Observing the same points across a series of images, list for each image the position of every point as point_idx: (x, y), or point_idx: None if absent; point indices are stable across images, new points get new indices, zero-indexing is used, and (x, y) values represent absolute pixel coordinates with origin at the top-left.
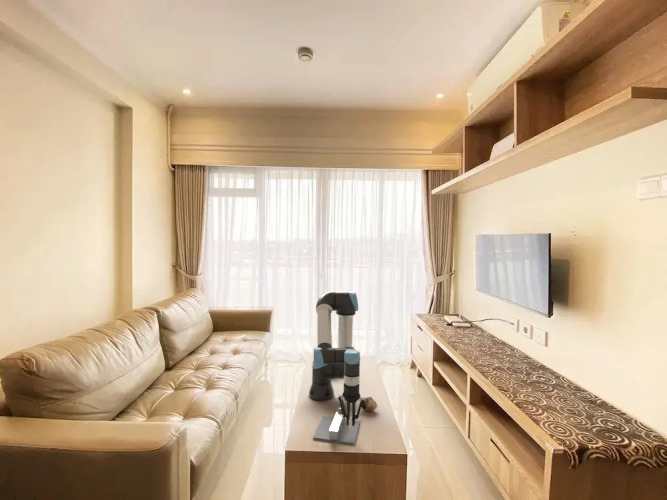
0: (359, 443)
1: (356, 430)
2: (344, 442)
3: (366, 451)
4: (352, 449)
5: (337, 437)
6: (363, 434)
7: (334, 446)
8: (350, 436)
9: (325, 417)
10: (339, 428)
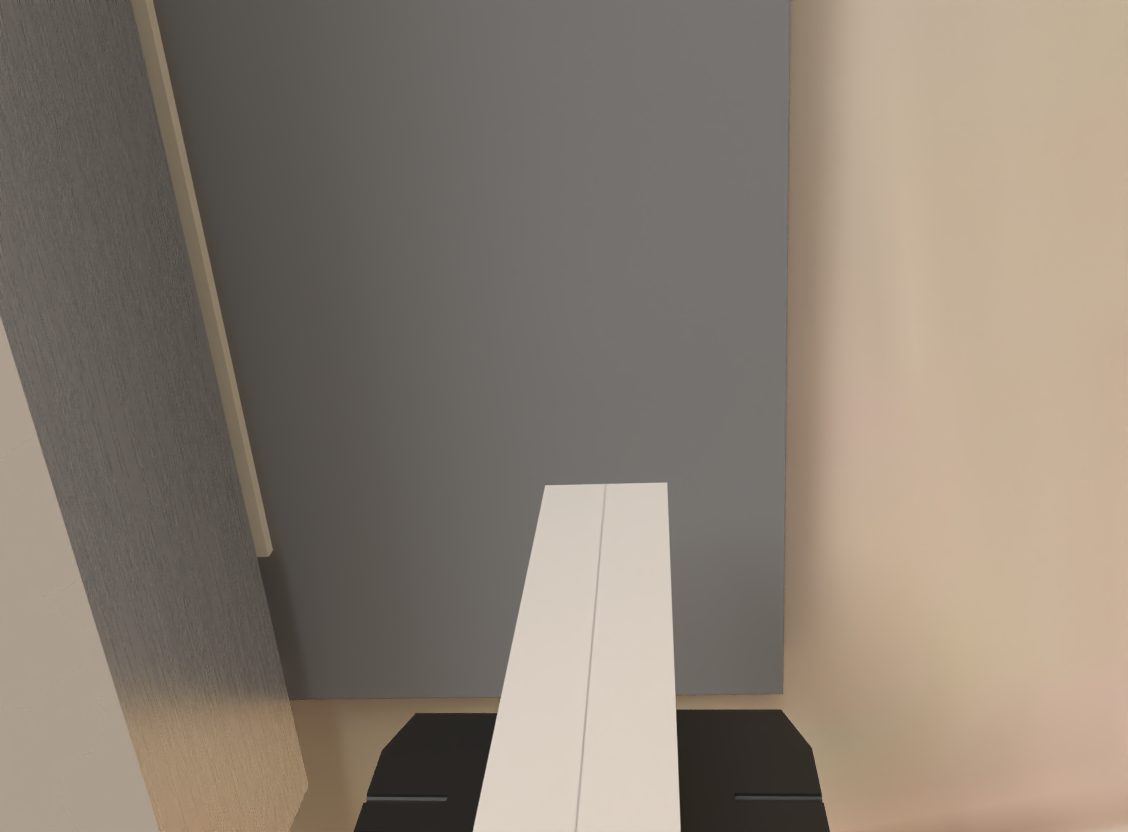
0: (902, 553)
1: (742, 8)
2: (503, 684)
3: (1106, 796)
4: None
5: (284, 816)
6: (1007, 55)
7: (313, 787)
8: (603, 433)
9: None
10: (170, 624)
